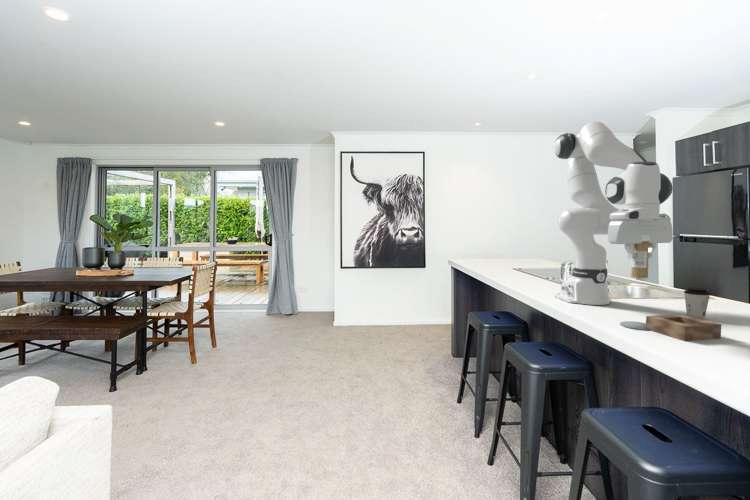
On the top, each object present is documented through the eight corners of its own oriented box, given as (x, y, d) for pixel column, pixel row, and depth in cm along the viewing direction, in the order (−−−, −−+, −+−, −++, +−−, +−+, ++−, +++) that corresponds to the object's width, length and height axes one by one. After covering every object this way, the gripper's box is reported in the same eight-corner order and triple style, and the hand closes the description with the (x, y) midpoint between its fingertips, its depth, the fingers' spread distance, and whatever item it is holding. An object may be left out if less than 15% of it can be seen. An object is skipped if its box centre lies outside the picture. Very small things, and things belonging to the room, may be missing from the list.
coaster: (613, 323, 119) (613, 322, 119) (637, 321, 120) (637, 320, 120) (637, 331, 110) (637, 329, 110) (662, 329, 112) (662, 328, 112)
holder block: (645, 328, 112) (646, 316, 112) (678, 326, 114) (679, 314, 114) (684, 340, 101) (685, 326, 100) (720, 338, 102) (721, 324, 102)
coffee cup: (714, 320, 120) (715, 291, 120) (688, 319, 122) (689, 290, 122) (702, 315, 127) (704, 287, 126) (678, 314, 129) (679, 286, 128)
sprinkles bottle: (650, 277, 114) (652, 234, 113) (644, 279, 111) (646, 235, 110) (634, 276, 118) (635, 234, 117) (627, 277, 115) (629, 234, 114)
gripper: (660, 213, 118) (659, 256, 119) (604, 214, 114) (603, 258, 115) (680, 213, 111) (677, 257, 112) (621, 213, 108) (619, 260, 109)
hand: (639, 258), depth 114 cm, fingers closed on sprinkles bottle, 4 cm apart
